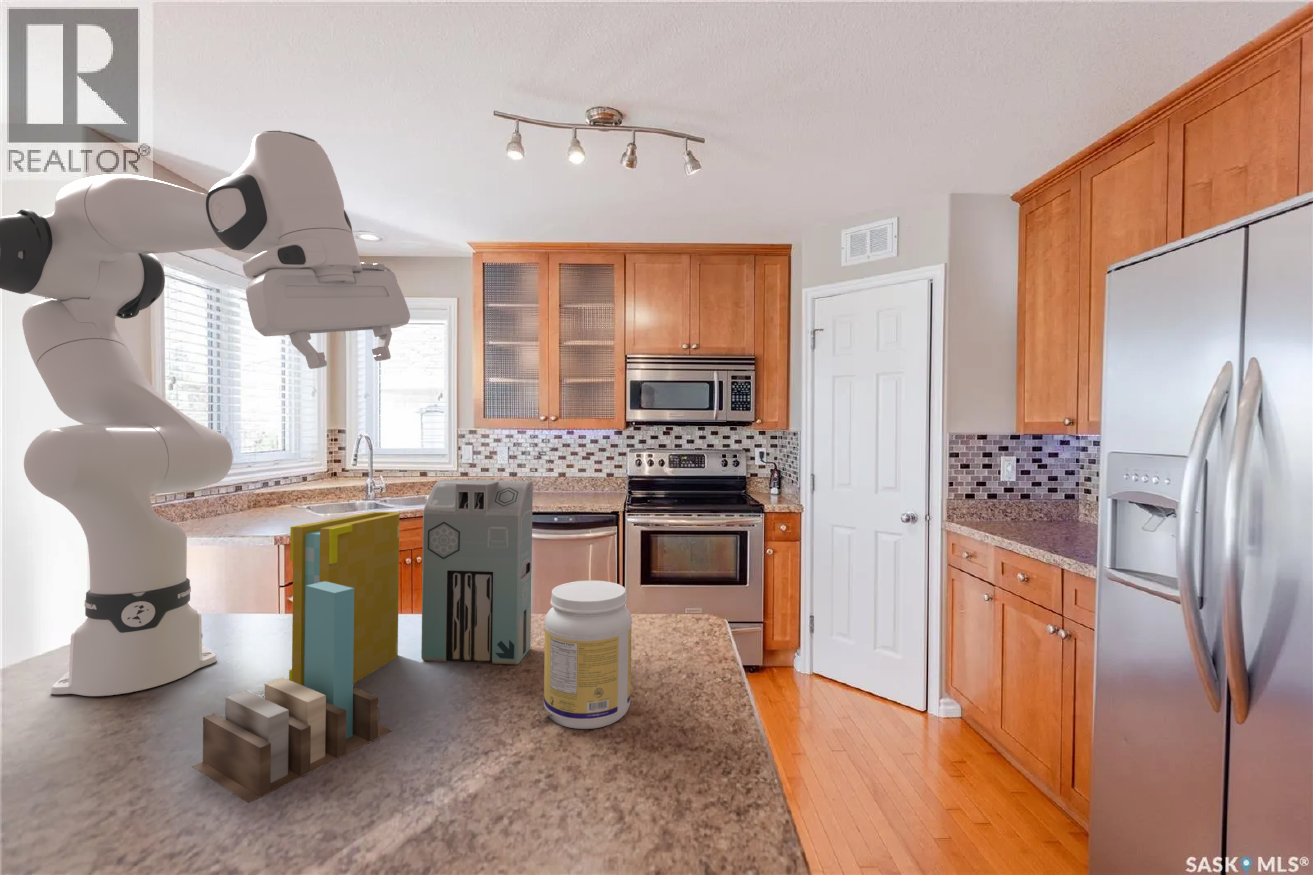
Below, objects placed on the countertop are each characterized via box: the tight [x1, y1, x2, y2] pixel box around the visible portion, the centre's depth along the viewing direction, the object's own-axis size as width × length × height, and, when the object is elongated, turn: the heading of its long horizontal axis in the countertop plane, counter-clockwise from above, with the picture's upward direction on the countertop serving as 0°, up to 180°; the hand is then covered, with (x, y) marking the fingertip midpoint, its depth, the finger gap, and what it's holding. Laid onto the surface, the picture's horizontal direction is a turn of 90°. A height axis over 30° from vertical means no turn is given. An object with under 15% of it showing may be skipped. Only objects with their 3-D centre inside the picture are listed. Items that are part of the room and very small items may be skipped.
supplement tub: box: [543, 580, 633, 730], centre depth 79 cm, size 12×12×17 cm
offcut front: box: [224, 689, 289, 783], centre depth 62 cm, size 9×2×7 cm, turn 61°
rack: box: [191, 686, 393, 804], centre depth 66 cm, size 12×16×6 cm
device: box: [420, 478, 534, 666], centre depth 98 cm, size 16×8×30 cm, turn 87°
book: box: [288, 511, 400, 686], centre depth 87 cm, size 17×7×25 cm, turn 168°
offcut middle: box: [263, 676, 326, 764], centre depth 66 cm, size 9×2×7 cm, turn 61°
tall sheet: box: [305, 581, 354, 739], centre depth 69 cm, size 6×2×18 cm, turn 61°
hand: (352, 363), depth 77 cm, fingers open, 8 cm apart
